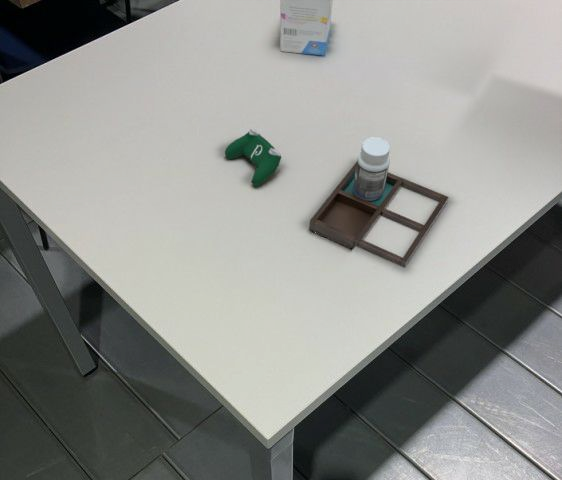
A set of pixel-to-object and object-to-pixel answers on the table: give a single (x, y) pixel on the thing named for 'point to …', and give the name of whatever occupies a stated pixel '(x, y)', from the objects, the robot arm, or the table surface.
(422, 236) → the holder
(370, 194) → the pill bottle
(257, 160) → the gaming controller
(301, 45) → the ink box
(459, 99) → the table surface
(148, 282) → the table surface
